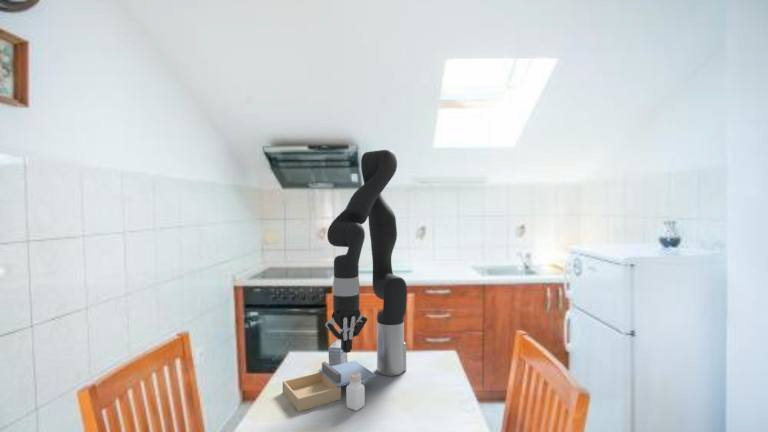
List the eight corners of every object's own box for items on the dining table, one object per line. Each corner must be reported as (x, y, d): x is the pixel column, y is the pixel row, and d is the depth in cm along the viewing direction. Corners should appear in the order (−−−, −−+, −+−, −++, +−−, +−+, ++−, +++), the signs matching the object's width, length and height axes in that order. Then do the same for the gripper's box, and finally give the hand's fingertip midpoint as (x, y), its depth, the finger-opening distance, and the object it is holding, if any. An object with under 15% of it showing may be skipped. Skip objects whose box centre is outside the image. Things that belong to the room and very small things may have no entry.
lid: (354, 362, 140) (354, 353, 139) (375, 376, 128) (375, 366, 128) (318, 371, 132) (318, 361, 132) (337, 387, 121) (337, 376, 121)
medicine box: (341, 373, 140) (340, 348, 140) (328, 371, 141) (328, 347, 141) (347, 363, 148) (347, 340, 148) (335, 362, 149) (335, 339, 148)
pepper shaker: (354, 402, 120) (354, 370, 120) (365, 406, 118) (365, 373, 118) (345, 407, 117) (345, 375, 117) (356, 412, 115) (356, 378, 114)
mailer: (322, 382, 133) (322, 371, 133) (341, 398, 122) (340, 387, 122) (282, 392, 126) (282, 381, 126) (298, 411, 115) (298, 399, 115)
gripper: (360, 287, 124) (360, 343, 125) (319, 292, 117) (319, 352, 118) (372, 292, 118) (372, 351, 118) (330, 297, 111) (330, 360, 112)
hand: (346, 351), depth 118 cm, fingers closed
